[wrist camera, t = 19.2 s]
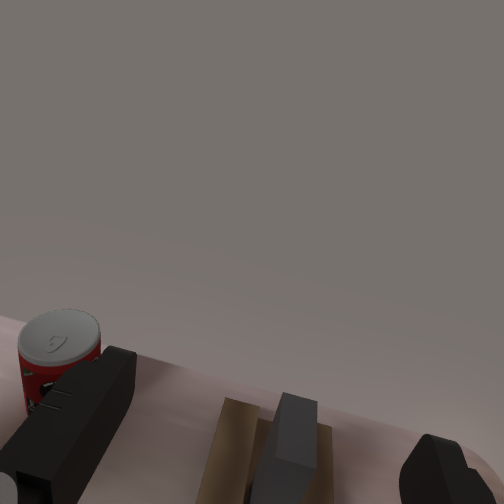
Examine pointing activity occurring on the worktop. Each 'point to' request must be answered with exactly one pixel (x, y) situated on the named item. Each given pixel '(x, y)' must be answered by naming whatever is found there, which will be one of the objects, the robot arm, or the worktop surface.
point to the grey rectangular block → (287, 454)
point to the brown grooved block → (254, 458)
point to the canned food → (54, 349)
